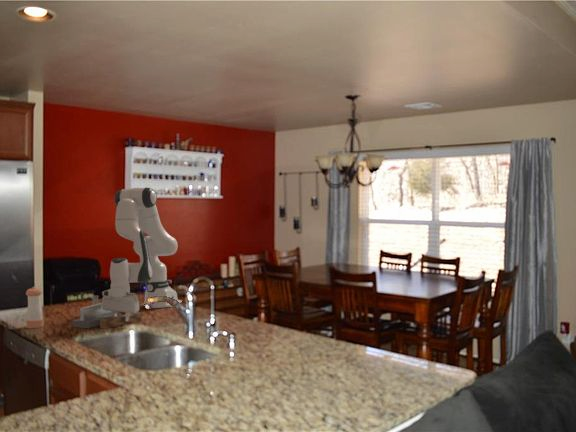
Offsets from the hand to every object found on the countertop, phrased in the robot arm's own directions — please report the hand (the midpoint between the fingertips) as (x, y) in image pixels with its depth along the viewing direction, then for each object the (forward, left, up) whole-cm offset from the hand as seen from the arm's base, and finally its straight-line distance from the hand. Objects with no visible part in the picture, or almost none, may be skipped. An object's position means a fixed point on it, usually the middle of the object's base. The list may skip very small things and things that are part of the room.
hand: (121, 320), depth 266 cm
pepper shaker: (+19, -36, -2) cm, 41 cm away
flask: (-11, -27, -2) cm, 29 cm away
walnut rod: (0, 0, -2) cm, 2 cm away
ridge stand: (+2, -13, -2) cm, 13 cm away
